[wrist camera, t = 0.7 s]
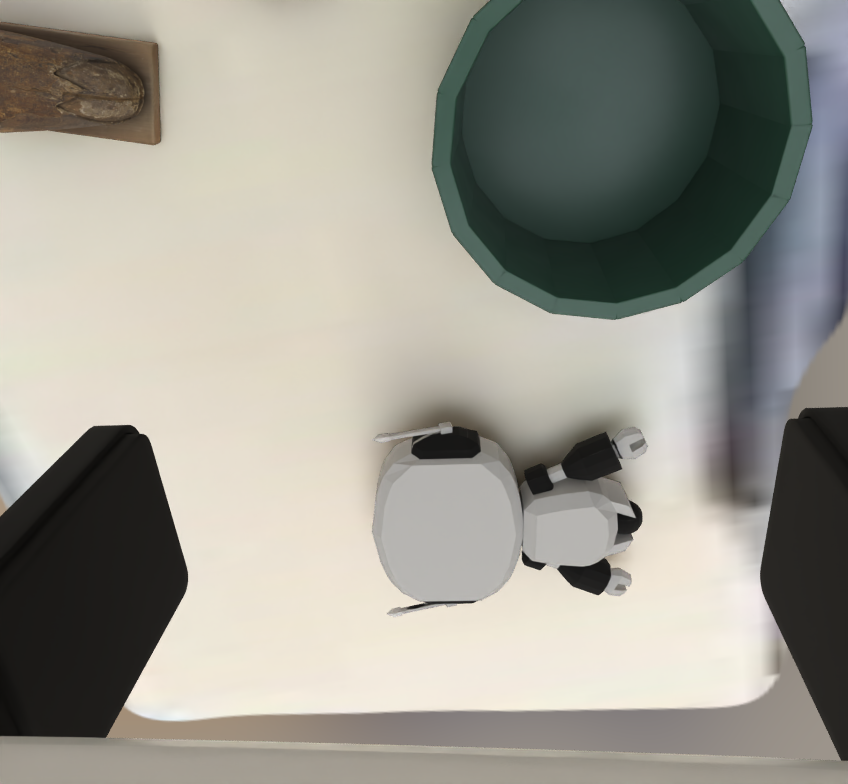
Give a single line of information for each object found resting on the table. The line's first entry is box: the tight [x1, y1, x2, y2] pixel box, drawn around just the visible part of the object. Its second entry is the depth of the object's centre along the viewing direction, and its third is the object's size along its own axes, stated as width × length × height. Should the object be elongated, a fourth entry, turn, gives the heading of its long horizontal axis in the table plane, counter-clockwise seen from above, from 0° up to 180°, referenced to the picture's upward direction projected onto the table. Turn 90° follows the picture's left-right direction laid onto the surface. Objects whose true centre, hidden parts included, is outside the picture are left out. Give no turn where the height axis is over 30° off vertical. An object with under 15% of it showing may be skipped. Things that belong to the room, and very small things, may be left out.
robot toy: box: [372, 422, 648, 617], centre depth 40 cm, size 12×4×15 cm
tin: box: [432, 0, 813, 320], centre depth 29 cm, size 13×13×9 cm
